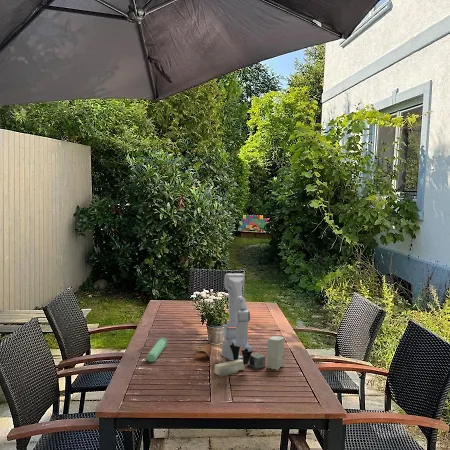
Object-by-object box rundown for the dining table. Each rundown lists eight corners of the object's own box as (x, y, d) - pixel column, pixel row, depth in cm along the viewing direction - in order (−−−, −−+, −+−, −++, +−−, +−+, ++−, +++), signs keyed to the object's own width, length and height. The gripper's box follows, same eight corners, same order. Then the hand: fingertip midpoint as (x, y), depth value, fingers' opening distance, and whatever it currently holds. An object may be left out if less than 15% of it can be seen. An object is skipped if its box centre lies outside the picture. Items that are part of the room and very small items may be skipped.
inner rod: (214, 373, 228) (214, 364, 228) (240, 366, 238) (241, 358, 237) (218, 375, 226) (218, 366, 225) (244, 368, 235) (244, 360, 235)
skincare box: (277, 370, 236) (278, 340, 235) (266, 368, 239) (267, 338, 238) (283, 365, 243) (285, 336, 242) (272, 363, 246) (274, 334, 245)
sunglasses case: (195, 349, 263) (201, 339, 263) (206, 356, 264) (212, 346, 263) (192, 360, 245) (200, 349, 245) (204, 368, 246) (211, 357, 245)
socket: (247, 364, 243) (248, 354, 243) (255, 362, 246) (256, 352, 246) (256, 368, 237) (257, 358, 237) (264, 366, 241) (265, 356, 240)
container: (153, 351, 240) (165, 336, 264) (143, 355, 240) (155, 339, 265) (158, 362, 240) (169, 346, 265) (147, 366, 240) (159, 349, 265)
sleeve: (214, 373, 230) (215, 366, 229) (231, 369, 236) (231, 362, 235) (220, 376, 226) (221, 369, 225) (237, 372, 232) (238, 365, 231)
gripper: (226, 331, 238) (225, 358, 239) (244, 339, 226) (243, 367, 227) (237, 329, 242) (236, 356, 243) (256, 337, 230) (255, 365, 231)
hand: (240, 361), depth 235 cm, fingers open, 7 cm apart
